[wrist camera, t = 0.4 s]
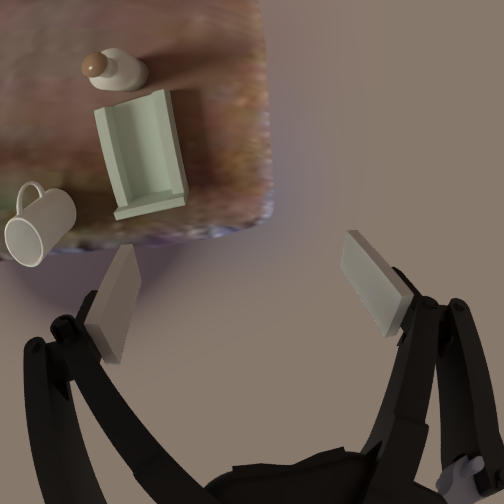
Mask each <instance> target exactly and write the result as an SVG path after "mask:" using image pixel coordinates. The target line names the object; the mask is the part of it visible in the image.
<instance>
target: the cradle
mask: <svg viewBox="0 0 504 504" xmlns="http://www.w3.org/2000/svg"><path fill="white" fill-rule="evenodd" d="M94 113H95V118H96V123H97V128H98V133H99V137H100V142H101V146H102V150H103V154H104V158H105V162H106V166H107V170H108V174H109V177H110V181H111V184H112V188H113V191H114V195H115V198H116V201H117V205H118V208H117V209H116V211H115V212H114V215H115V218H116V220H120V219H125V218H129V217H133V216H137V215H142V214H146V213H151V212H155V211H160V210H164V209H169V208H174V207H179V206H183V205H186V201H187V197H188V193H189V188H188V183H187V179H186V174H185V169H184V165H183V160H182V155H181V150H180V145H179V139H178V134H177V129H176V124H175V118H174V113H173V107H172V101H171V95H170V91H169V90H165V89H162V90H158V91H155V92H152V95H148V96H144V97H141V98H137V99H134V100H131V101H128V102H125V103H121V104H118V105H115V106H112V107H103V108H101V109H98V110H95V111H94Z"/></svg>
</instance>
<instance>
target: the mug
mask: <svg viewBox="0 0 504 504" xmlns="http://www.w3.org/2000/svg"><path fill="white" fill-rule="evenodd" d="M30 184H31V185H34V186H35V187H36V188H37V189H38V191H39V194H40V197H39V198H38V199H37V200H35V201H34V202H33V203H31V204H30V205H29V206H27V207H26V208H25V209H22V195H23V192H24V190H25V188H26V187H27V186H28V185H30ZM75 221H76V207H75V204H74V202H73V200H72V198H71V197H70V196H69V195H68V194H67V193H66V192H65V191H63V190H61V189H58V188H52V189H49V190H47V191H46V192H44V190H43V188H42V187H41V185H40V184H39V183H37V182H35V181H29V182H27V183H25V184H24V185H23V186H22V188H21V189H20V191H19V194H18V198H17V215H16V216H14V217H13V218H12V219H11V220H10V221H9V222H8V223H7V225H6V228H5V241H6V245H7V247H8V250H9V251H10V253H11V255H12V256H13V257H14V258H15V259H16V260H17V261H18V262H19V263H21V264H22V265H24V266H28V267H34V266H37V265H38V264H39V263H40V262H41V261H42V260H43V258H44V257H45V256H46V255H47V254H48V252H49V251H50V250H51V249H52V248H53V247H54V245H55V244H56V243H57V242H58V241H59V240H60V239H61V237H62V236H63V235H64V234H65V233H66V232H68V231H69V230H70V229H71V228H72V227H73V226H74V224H75Z"/></svg>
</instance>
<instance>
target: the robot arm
mask: <svg viewBox="0 0 504 504" xmlns="http://www.w3.org/2000/svg"><path fill="white" fill-rule="evenodd" d="M340 268H341V269H342V271H343V272H344V274H345V275H346V277H347V278H348V280H349V281H350V283H351V284H352V286H353V287H354V289H355V290H356V292H357V293H358V295H359V297H360V298H361V300H362V301H363V303H364V304H365V306H366V308H367V309H368V311H369V312H370V314H371V316H372V317H373V319H374V320H375V322H376V324H377V325H378V327H379V329H380V330H381V332H382V334H383V335H384V337H385V338H386V337H389V336H394V335H396V334H397V332H398V330H399V328H400V327H401V328H402V330H403V331H404V332H403V334H402V336H401V338H400V340H399V342H398V344H397V346H399V348H398V352H397V356H396V359H395V363H394V367H393V370H392V373H391V377H390V380H389V383H388V387H387V390H386V393H385V396H384V399H383V402H382V405H381V407H380V410H379V413H378V416H377V419H376V421H375V424H374V426H373V429H372V431H371V434H370V436H369V438H368V440H367V442H366V444H365V445H364V447H363V448H362V450H361V452H360V453H357V452H348V451H347V452H346V451H345V449H344V447H340V448H336V449H333V450H328V451H325V452H320V453H317V454H315V455H313V456H311V457H309V458H307V459H305V460H302V461H300V462H298V463H296V464H293V465H275V464H263V463H260V464H251V465H240V466H232V468H233V471H231V472H227V473H225V474H222V475H220V476H219V477H217V478H215V479H214V480H212V481H211V482H209V483H208V484H207V485H206V486H205V487H204V488H203V487H202V486H201V485H199V484H198V483H197V482H196V481H195V480H194V479H193V478H192V477H191V476H190V475H189V474H188V473H187V472H186V471H185V470H184V469H183V468H182V467H181V466H180V465H179V464H178V463H177V462H176V461H175V460H174V459H173V458H172V457H171V456H170V455H169V454H168V453H167V452H166V451H165V450H164V449H163V447H162V446H161V445H160V444H159V443H158V442H157V441H156V439H155V438H154V437H153V436H152V435H151V434H150V433H149V431H148V430H147V429H146V428H145V426H144V425H143V424H142V423H141V421H140V420H139V419H138V418H137V416H136V415H135V414H134V412H133V411H132V410H131V409H130V407H129V406H128V405H127V403H126V402H125V400H124V399H123V398H122V396H121V395H120V393H119V392H118V391H117V389H116V388H115V386H114V385H113V383H112V382H111V380H110V379H109V377H108V376H107V374H106V373H105V371H104V370H103V368H102V366H101V365H100V361H101V357H102V358H103V360H104V362H105V364H111V365H120V362H121V357H122V353H123V349H124V344H125V340H126V336H127V332H128V328H129V325H130V321H131V317H132V314H133V309H134V306H135V303H136V299H137V296H138V293H139V289H140V286H141V282H142V281H141V277H140V273H139V269H138V266H137V261H136V257H135V253H134V250H133V245H132V244H128V245H121V246H120V248H119V250H118V252H117V254H116V255H115V257H114V259H113V261H112V263H111V266H110V267H109V269H108V271H107V273H106V275H105V278H104V279H103V282H102V284H101V286H100V288H99V290H92V291H91V292H90V293H89V294H88V295H87V296H86V297H85V299H84V301H83V303H82V305H81V307H80V310H79V312H78V314H77V316H76V318H74V317H73V316H71V315H68V314H67V315H62V316H59V317H58V318H56V319H55V320H54V321H53V322H52V324H51V327H50V331H51V333H52V335H53V336H54V338H55V339H56V341H54V342H51V343H46V342H45V341H44V339H43V338H42V337H34V338H32V339H30V340H29V341H28V342H27V343H26V345H25V347H24V361H23V362H24V364H23V365H24V368H23V369H24V397H25V409H26V418H27V427H28V434H29V440H30V446H31V451H32V457H33V461H34V466H35V470H36V474H37V478H38V481H39V485H40V489H41V492H42V495H43V498H44V502H45V504H107V502H106V500H105V498H104V496H103V493H102V491H101V489H100V486H99V484H98V481H97V479H96V477H95V474H94V471H93V468H92V465H91V463H90V460H89V457H88V454H87V451H86V448H85V444H84V441H83V438H82V434H81V431H80V427H79V423H78V419H77V415H76V411H75V407H74V402H73V398H72V393H71V387H70V382H69V381H72V380H75V382H76V384H77V386H78V388H79V390H80V391H81V393H82V395H83V397H84V399H85V401H86V402H87V404H88V406H89V408H90V409H91V411H92V413H93V414H94V416H95V418H96V420H97V421H98V423H99V424H100V426H101V428H102V429H103V431H104V432H105V434H106V435H107V437H108V438H109V440H110V441H111V443H112V444H113V446H114V447H115V448H116V450H117V451H118V453H119V454H120V455H121V457H122V458H123V459H124V461H125V462H126V463H127V465H128V466H129V467H130V469H131V470H132V472H133V475H134V477H135V479H136V480H137V481H138V483H139V484H140V485H141V486H142V487H143V489H144V490H145V491H146V492H147V493H148V494H149V496H150V497H151V498H152V499H153V500H154V501H155V502H156V503H157V504H474V503H475V502H477V501H479V500H482V499H484V498H486V497H488V496H490V495H493V494H495V493H497V492H499V491H501V490H503V489H504V444H503V441H502V439H501V436H500V433H499V427H498V419H497V412H496V405H495V400H494V394H493V389H492V384H491V380H490V375H489V371H488V367H487V363H486V359H485V356H484V352H483V348H482V345H481V342H480V338H479V335H478V332H477V329H476V326H475V323H474V320H473V317H472V315H471V312H470V309H469V307H468V305H467V304H466V303H465V302H464V301H463V300H461V299H458V298H453V299H451V301H450V303H449V304H448V305H447V306H446V305H439V304H438V302H437V301H436V300H434V299H433V298H431V297H428V296H422V295H421V294H420V292H419V291H418V290H417V289H416V288H415V287H414V286H413V284H412V283H411V282H410V281H409V280H408V278H406V276H405V275H404V274H403V273H402V272H401V271H400V270H398V269H397V268H395V267H390V265H389V264H388V263H387V262H386V261H385V260H384V259H383V258H382V257H381V255H380V254H379V253H378V252H377V251H376V250H375V249H374V248H373V246H371V244H370V243H369V242H368V241H367V240H366V239H365V238H364V237H363V236H362V235H361V234H360V233H359V232H358V231H357V230H347V231H346V237H345V243H344V249H343V254H342V259H341V264H340ZM435 363H436V371H437V380H438V390H439V402H440V419H441V420H440V422H441V464H442V473H441V475H440V478H439V479H438V480H437V482H436V488H437V489H438V492H435V491H432V490H431V489H429V488H426V487H424V486H422V485H420V484H418V483H416V482H415V481H414V478H415V475H416V473H417V470H418V467H419V463H420V460H421V457H422V454H423V450H424V447H425V443H426V439H427V435H428V430H429V426H428V425H427V424H425V418H426V414H427V410H428V405H429V400H430V395H431V389H432V383H433V377H434V370H435Z"/></svg>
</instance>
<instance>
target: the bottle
mask: <svg viewBox="0 0 504 504" xmlns="http://www.w3.org/2000/svg"><path fill="white" fill-rule="evenodd" d="M82 72H83V74H84V75H85V76H86V77H89V79H90V81H91V83H92V84H93V85H94V86H95V87H96V88H98V89H103V90H114V91H124V92H133V91H136V90H138V89H140V88H141V87H143V86H144V84H145V83H146V81H147V79H148V76H149V70H148V67H147V65H146V64H145V63H144V62H142V61H141V60H139V59H137V58H135V57H133V56H132V55H130V54H128V53H126V52H124V51H122V50H120V49H117V48H111V49H107V50H104V51H103V52H101V53H100V52H94V53H91V54H90V55H88V56H87V57H86V58H85V60H84V61H83V64H82Z"/></svg>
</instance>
